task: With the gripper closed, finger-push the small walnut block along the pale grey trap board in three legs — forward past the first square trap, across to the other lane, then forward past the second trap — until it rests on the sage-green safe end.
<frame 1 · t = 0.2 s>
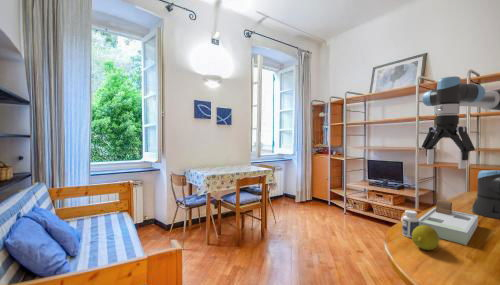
hand: (444, 166, 101), 28 cm above the table, tool pointing down, fingers open, 13 cm apart
walnut block: (443, 212, 115), point 4 cm above the table, touching trap board
lemon: (425, 248, 87), on the table
trap board: (447, 228, 106), on the table
pill bottle: (410, 236, 97), on the table
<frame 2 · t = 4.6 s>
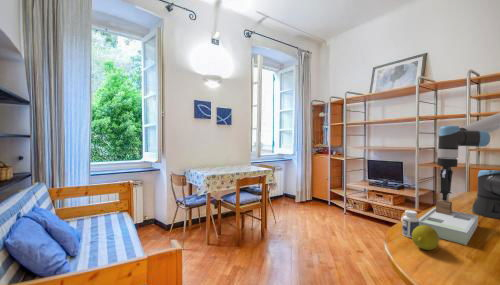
hand: (444, 206, 117), 6 cm above the table, tool pointing down, fingers closed
walnut block: (443, 212, 115), point 4 cm above the table, touching gripper, trap board
everything else where it was.
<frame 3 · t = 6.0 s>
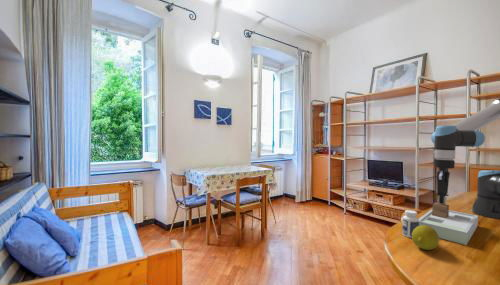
hand: (441, 209, 113), 6 cm above the table, tool pointing down, fingers closed
walnut block: (440, 215, 111), point 4 cm above the table, touching gripper
everything else where it was.
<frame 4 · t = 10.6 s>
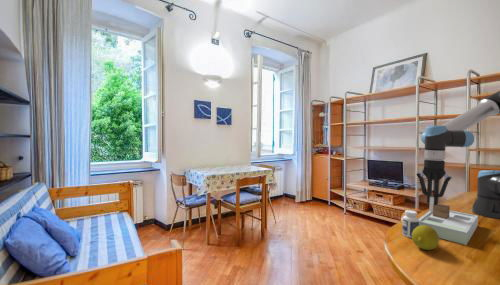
hand: (432, 210, 111), 6 cm above the table, tool pointing down, fingers closed
nothing on the table moved.
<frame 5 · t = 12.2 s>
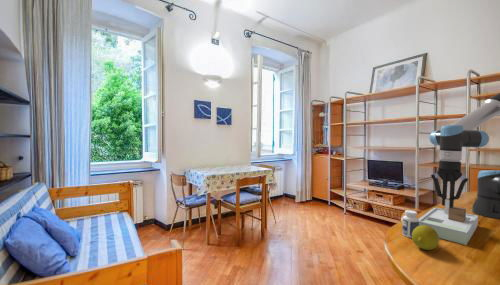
hand: (447, 213, 107), 6 cm above the table, tool pointing down, fingers closed
walnut block: (456, 219, 105), point 4 cm above the table, touching gripper, trap board
everything else where it was.
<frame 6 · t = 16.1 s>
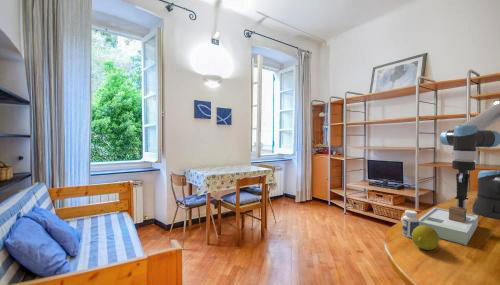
hand: (460, 214, 107), 6 cm above the table, tool pointing down, fingers closed
walnut block: (457, 219, 105), point 4 cm above the table, touching gripper
everything else where it was.
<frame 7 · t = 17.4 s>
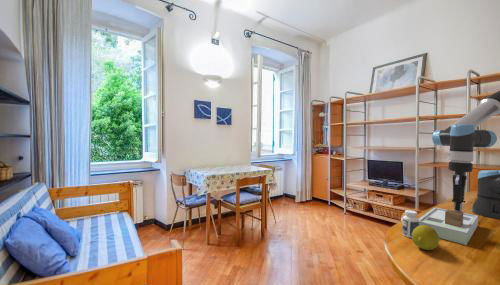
hand: (457, 217, 102), 6 cm above the table, tool pointing down, fingers closed
walnut block: (453, 223, 100), point 4 cm above the table, touching gripper
everything else where it was.
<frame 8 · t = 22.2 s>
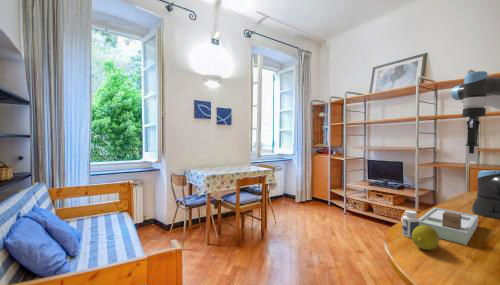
hand: (471, 160, 108), 29 cm above the table, tool pointing down, fingers closed
walnut block: (451, 226, 97), point 4 cm above the table, touching trap board
everything else where it was.
at the end: walnut block inside the target area (1.3 cm from its centre), point 4.0 cm above the table; walnut block tilted 0° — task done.
